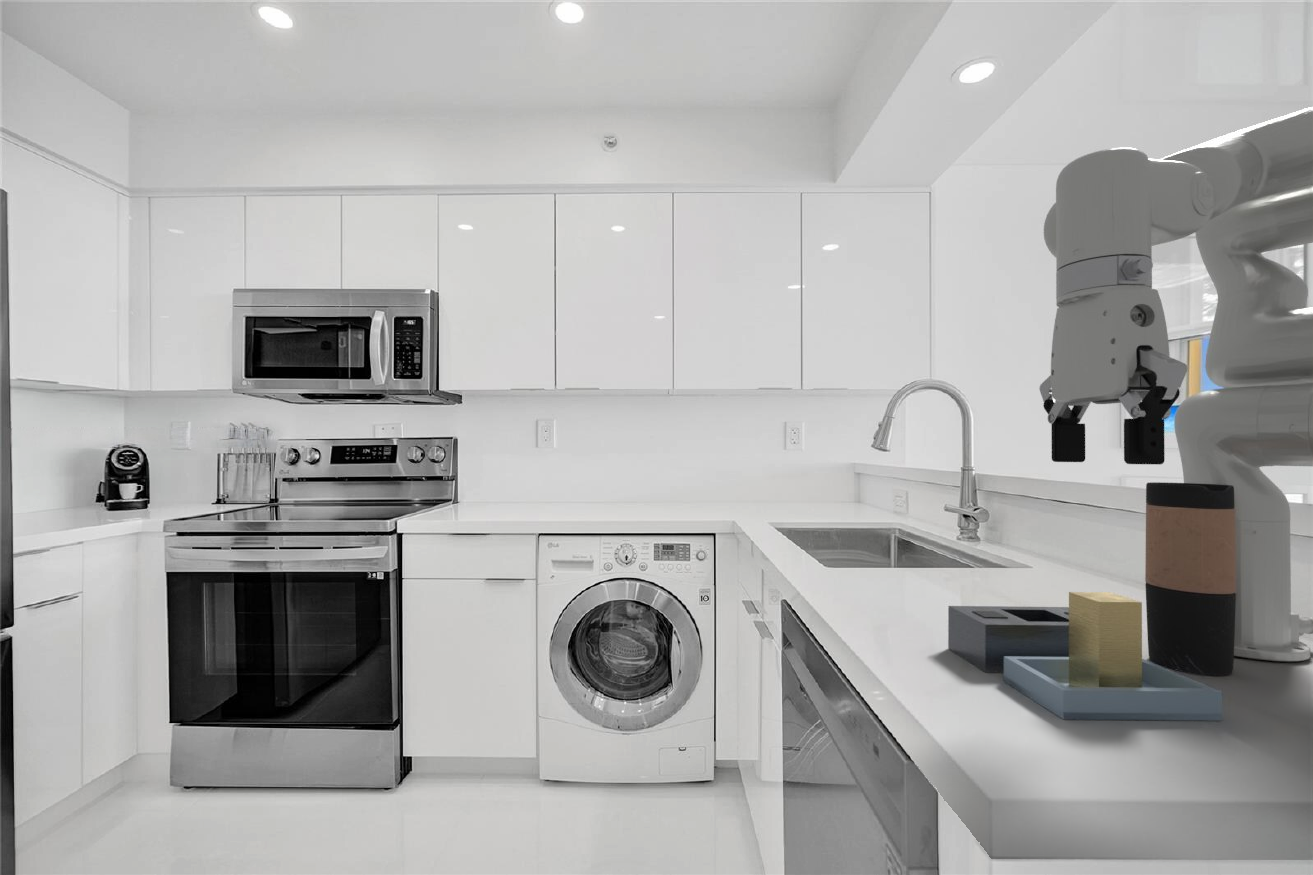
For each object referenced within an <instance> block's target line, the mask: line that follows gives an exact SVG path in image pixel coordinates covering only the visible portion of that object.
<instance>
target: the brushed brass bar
mask: <svg viewBox="0 0 1313 875" xmlns="http://www.w3.org/2000/svg"><path fill="white" fill-rule="evenodd" d="M1068 607H1069V685H1070V686H1072V687H1132V688H1142V659H1143V625H1142V624H1143V611H1142V610H1143V602H1142V601H1139V600H1136V599H1132V598H1129V597H1126V596H1122V595H1119V594H1116V593H1114V592H1113V593H1112V592H1110V591H1108V592H1107V591H1105V592H1103V591H1101V592H1100V591H1099V592H1098V591H1094V592H1093V591H1068Z"/></svg>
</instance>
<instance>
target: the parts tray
mask: <svg viewBox="0 0 1313 875" xmlns="http://www.w3.org/2000/svg"><path fill="white" fill-rule="evenodd" d="M1003 682H1004V683H1006V684H1007V685H1009V686H1011V687H1012V688H1014V690H1016V691H1018V692H1020V693H1021V694H1023V695H1025V696H1026V697H1027V698H1029V699H1031V700H1032V701H1033V702H1036V704H1039V705H1041V706H1042V707H1044V708H1045V709H1046V710H1048V711H1049V712H1051V713H1053V714H1054V715H1056V716H1057V717H1059V718H1060V719H1062V720H1078V721H1079V720H1085V721H1086V720H1087V721H1088V720H1090V721H1091V720H1096V721H1097V720H1101V721H1102V720H1105V721H1107V720H1112V721H1118V720H1119V721H1209V722H1210V721H1217V722H1218V721H1223V691H1221V690H1218V689H1216V688H1214V687H1211V686H1209V685H1206V684H1204V683H1202V682H1200V681H1198V680H1195V679H1192V678H1190V677H1189V676H1188V677H1187V676H1185V675H1182V674H1181V673H1178V672H1175V671H1174V670H1172V669H1170V668H1167V667H1164V666H1161V665H1159V664H1156V663H1154V662H1153V661H1149V660H1146V659H1145V658H1142V688H1132V687H1072V686H1070V685H1069V657H1022V656H1004V673H1003Z"/></svg>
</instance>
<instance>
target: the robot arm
mask: <svg viewBox="0 0 1313 875" xmlns="http://www.w3.org/2000/svg"><path fill="white" fill-rule="evenodd" d="M1193 234H1195V241H1196V245H1197V247H1198V251H1199V253H1200V257H1201V260H1202V262H1203V264H1204V266H1205V269H1206V271H1207V273H1208V276H1209V278H1210V279H1211V281H1212V283H1213V285H1214V287H1215V291H1216V294H1217V302H1216V304H1217V305H1216V309H1215V314H1214V318H1213V322H1212V327H1211V331H1210V335H1209V340H1208V344H1207V349H1206V355H1205V363H1204V364H1205V366H1204V368H1205V372H1206V375H1207V377H1208V379H1209V380H1210V381H1211V382H1212V383H1213V384H1214V385H1216V386H1218V387H1221V388H1215V389H1210V390H1204V391H1201V392H1197V393H1196V394H1192V395H1190V396H1189V397H1187V398H1186V399H1184V400H1183V401H1182V402H1181V403H1180V404H1179V406H1178V407H1177V409H1176V410H1175V413H1174V418H1173V419H1174V421H1173V422H1174V424H1173V426H1174V432H1175V439H1176V442H1177V447H1178V451H1179V457H1180V460H1181V467H1182V473H1183V477H1182V478H1183V483H1197V484H1219V485H1232V486H1233V487H1234V512H1235V562H1236V592H1235V593H1236V610H1235V638H1234V657H1240V658H1245V659H1253V660H1261V661H1271V662H1289V663H1290V662H1303V661H1306V660H1309V659H1310V658H1311V656H1312V655H1311V654H1312V652H1311V648H1310V646H1308V645H1307V644H1305V643H1304V642H1302V641H1300V637H1301V636H1303V635H1304V634H1308V635H1313V617H1311V616H1310V617H1308V616H1307V617H1300V614H1299V613H1294V612H1292V599H1291V598H1292V594H1291V593H1292V590H1291V589H1292V588H1291V587H1292V586H1291V585H1292V581H1291V576H1292V574H1291V573H1292V571H1291V568H1292V567H1291V508H1290V504H1289V500H1288V499H1287V497H1286V495H1285V494H1284V493H1283V491H1282V489H1280V488H1279V487H1278V486H1277V484H1275V483H1274V482H1273V481H1272V480H1271V479H1270V478H1269V477H1268V476H1267V475H1266V474H1264V472H1263V471H1262V470H1261V468H1262V467H1276V466H1278V467H1281V466H1282V467H1313V307H1307V302H1308V297H1309V289H1308V285H1307V284H1306V282H1305V281H1304V279H1302V277H1301V276H1300V275H1298V274H1297V273H1295V272H1294V271H1293V270H1292V269H1290V268H1288V267H1287V266H1285V265H1283V264H1281V263H1278V262H1277V261H1275V260H1272V259H1269V258H1267V257H1265V256H1264V255H1263V254H1262V253H1267V252H1272V251H1276V250H1281V249H1282V250H1284V249H1287V248H1293V247H1296V246H1297V247H1298V246H1302V245H1307V244H1312V243H1313V106H1312V107H1308V108H1304V109H1302V110H1301V109H1300V110H1298V111H1296V112H1292V113H1289V114H1287V115H1284V116H1280V117H1277V118H1274V119H1271V120H1268V121H1265V122H1262V123H1258V124H1256V125H1252V126H1249V127H1247V128H1243V129H1239V130H1237V131H1235V132H1231V133H1227V134H1226V135H1223V136H1219V137H1217V138H1213V139H1211V140H1208V141H1206V142H1203V143H1200V144H1198V145H1195V146H1192V147H1190V148H1189V147H1188V148H1187V149H1182V150H1181V151H1178V152H1175V153H1173V154H1171V155H1168V156H1165V157H1163V158H1160V159H1155V158H1149V157H1148V155H1147V154H1146V152H1144V151H1142V150H1140V149H1137V148H1134V147H1133V148H1132V147H1114V148H1112V147H1111V148H1108V149H1107V148H1106V149H1102V150H1098V151H1094V152H1091V153H1087V154H1084V155H1081V156H1080V157H1078V158H1076V159H1074V160H1072V161H1071V162H1069V163H1068V164H1066V165H1065V166H1064V167H1063V168H1062V169H1061V171H1060V173H1059V175H1058V176H1057V179H1056V184H1055V203H1054V204H1052V206H1051V207H1050V209H1049V210H1048V212H1047V214H1046V217H1045V219H1044V223H1043V239H1044V242H1045V245H1046V247H1047V249H1048V251H1049V252H1050V253H1051V255H1052V256H1053V257H1055V260H1056V261H1055V262H1056V267H1055V268H1056V273H1055V274H1056V275H1055V276H1056V277H1055V278H1056V280H1055V284H1056V286H1055V287H1056V288H1055V289H1056V291H1055V293H1056V294H1055V295H1056V296H1055V298H1056V302H1055V304H1056V307H1057V308H1056V313H1055V318H1054V326H1053V334H1052V341H1051V354H1050V355H1051V357H1050V375H1049V376H1048V377H1047V378H1046V379H1045V380H1044V381H1043V382H1041V383H1040V385H1039V392H1040V395H1041V398H1042V401H1043V408H1044V410H1045V412H1046V413H1047V414H1048V415H1047V421H1048V424H1050V425H1051V461H1053V463H1054V462H1055V463H1084V462H1085V461H1086V423H1081V420H1082V418H1083V417H1084V415H1085V413H1086V412H1087V409H1088V408H1089V407H1090V405H1091V403H1092V404H1095V405H1107V404H1109V405H1110V404H1111V405H1112V404H1122V406H1123V407H1124V409H1125V411H1127V413H1128V414H1129V416H1130V417H1131V418H1123V461H1124V462H1125V463H1126V465H1163V464H1165V463H1164V462H1165V420H1167V419H1169V417H1170V416H1171V413H1172V409H1171V407H1172V406H1173V405H1174V404H1175V402H1176V401H1177V400H1178V398H1179V396H1180V392H1181V391H1180V389H1179V388H1181V387H1182V384H1183V382H1184V380H1185V377H1186V374H1187V372H1188V365H1187V363H1186V362H1182V361H1180V360H1178V359H1175V358H1173V357H1171V356H1170V355H1171V354H1170V345H1169V343H1170V342H1169V335H1168V326H1167V321H1166V316H1165V311H1164V308H1163V307H1164V306H1163V304H1162V299H1161V298H1160V294H1159V291H1158V290H1157V289H1155V288H1153V266H1154V265H1153V261H1152V260H1153V259H1152V258H1153V257H1152V254H1153V253H1152V247H1153V246H1157V245H1162V244H1166V243H1170V242H1175V241H1177V240H1180V239H1183V238H1186V237H1189V236H1191V235H1193ZM1071 407H1072V409H1071Z"/></svg>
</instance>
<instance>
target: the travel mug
mask: <svg viewBox="0 0 1313 875" xmlns="http://www.w3.org/2000/svg"><path fill="white" fill-rule="evenodd" d="M1145 485H1146V486H1145V568H1144V569H1145V575H1144V576H1145V577H1144V580H1145V583H1144V584H1145V585H1144V586H1145V603H1146V605H1145V606H1146V629H1147V648H1148V652H1147V653H1148V657H1149V660H1150V662H1152V663H1154V664H1156V665H1159V666H1161V667H1164V668H1166V669H1170V670H1173V671H1174V670H1175V671H1179V672H1183V673H1187V674H1193V675H1201V676H1210V677H1211V676H1212V677H1224V676H1225V677H1226V676H1231V675H1232V674H1233V672H1234V664H1235V663H1234V661H1235V660H1234V659H1235V656H1234V638H1235V610H1236V593H1235V592H1236V562H1235V512H1234V487H1233V486H1232V485H1219V484H1197V483H1184V482H1157V481H1156V482H1147V483H1146V484H1145Z"/></svg>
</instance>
